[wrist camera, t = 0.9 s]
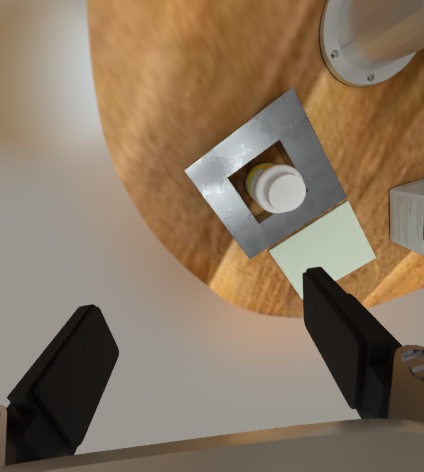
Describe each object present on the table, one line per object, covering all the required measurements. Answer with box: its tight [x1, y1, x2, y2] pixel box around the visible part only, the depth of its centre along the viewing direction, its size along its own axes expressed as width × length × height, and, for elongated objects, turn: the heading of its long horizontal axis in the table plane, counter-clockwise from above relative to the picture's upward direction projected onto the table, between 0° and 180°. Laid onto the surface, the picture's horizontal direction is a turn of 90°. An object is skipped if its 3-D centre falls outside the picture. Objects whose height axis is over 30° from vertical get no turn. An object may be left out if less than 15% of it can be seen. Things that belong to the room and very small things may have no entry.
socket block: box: [185, 87, 347, 259], centre depth 31 cm, size 16×16×3 cm
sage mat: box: [268, 200, 376, 300], centre depth 37 cm, size 14×12×1 cm
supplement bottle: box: [245, 162, 306, 213], centre depth 28 cm, size 6×6×10 cm
